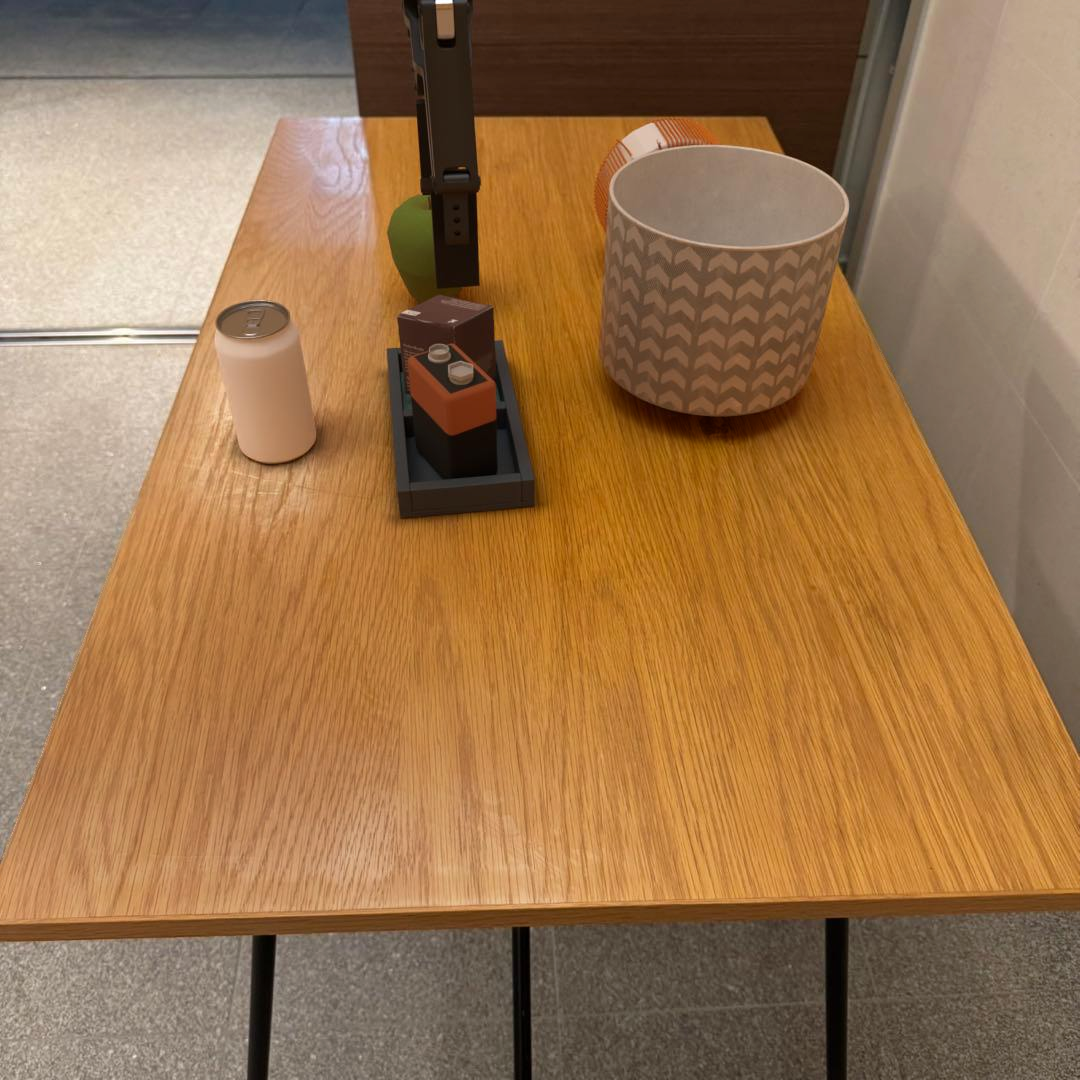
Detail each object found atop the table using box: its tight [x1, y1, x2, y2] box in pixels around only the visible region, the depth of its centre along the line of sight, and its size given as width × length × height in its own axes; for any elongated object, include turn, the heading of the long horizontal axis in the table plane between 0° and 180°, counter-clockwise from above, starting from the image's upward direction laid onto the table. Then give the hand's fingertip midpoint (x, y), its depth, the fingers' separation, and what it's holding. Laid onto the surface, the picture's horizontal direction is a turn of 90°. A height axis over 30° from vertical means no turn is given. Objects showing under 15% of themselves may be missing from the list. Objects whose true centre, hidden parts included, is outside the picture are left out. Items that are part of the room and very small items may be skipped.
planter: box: [598, 144, 850, 417], centre depth 86 cm, size 19×19×18 cm
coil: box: [593, 116, 723, 234], centre depth 103 cm, size 7×15×15 cm, turn 100°
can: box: [213, 299, 317, 465], centre depth 81 cm, size 6×6×12 cm
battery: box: [408, 344, 498, 480], centre depth 79 cm, size 4×7×10 cm, turn 33°
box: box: [396, 295, 497, 395], centre depth 86 cm, size 6×6×7 cm
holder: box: [386, 339, 536, 519], centre depth 85 cm, size 11×20×3 cm, turn 9°
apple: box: [386, 193, 464, 305], centre depth 98 cm, size 9×8×12 cm
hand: (448, 235), depth 68 cm, fingers open, 13 cm apart
